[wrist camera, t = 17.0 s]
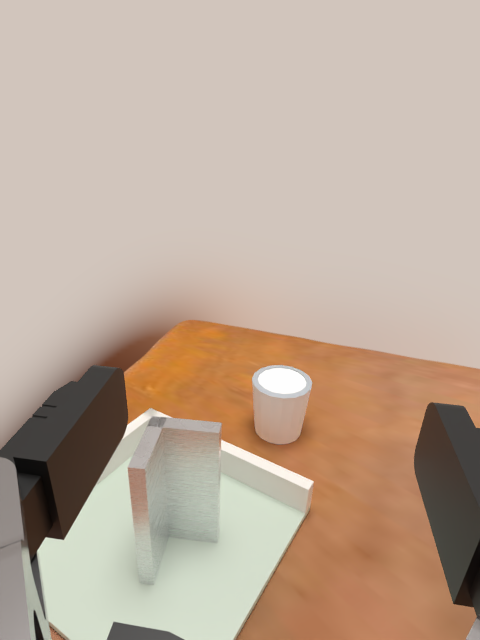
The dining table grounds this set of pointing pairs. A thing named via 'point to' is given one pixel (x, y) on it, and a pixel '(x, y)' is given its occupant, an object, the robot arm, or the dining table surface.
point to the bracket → (174, 488)
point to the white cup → (280, 402)
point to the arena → (173, 553)
